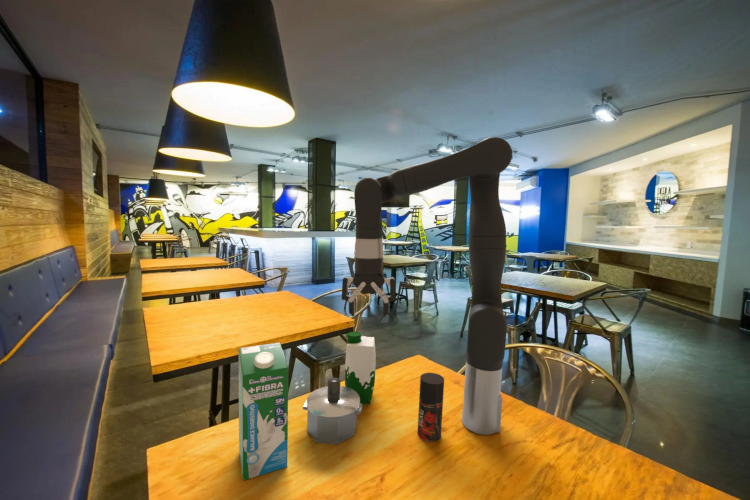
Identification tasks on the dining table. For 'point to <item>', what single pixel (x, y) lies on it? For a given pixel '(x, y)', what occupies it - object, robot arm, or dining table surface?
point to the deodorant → (430, 407)
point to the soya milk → (360, 365)
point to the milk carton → (263, 409)
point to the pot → (331, 427)
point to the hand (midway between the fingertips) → (368, 315)
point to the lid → (333, 400)
